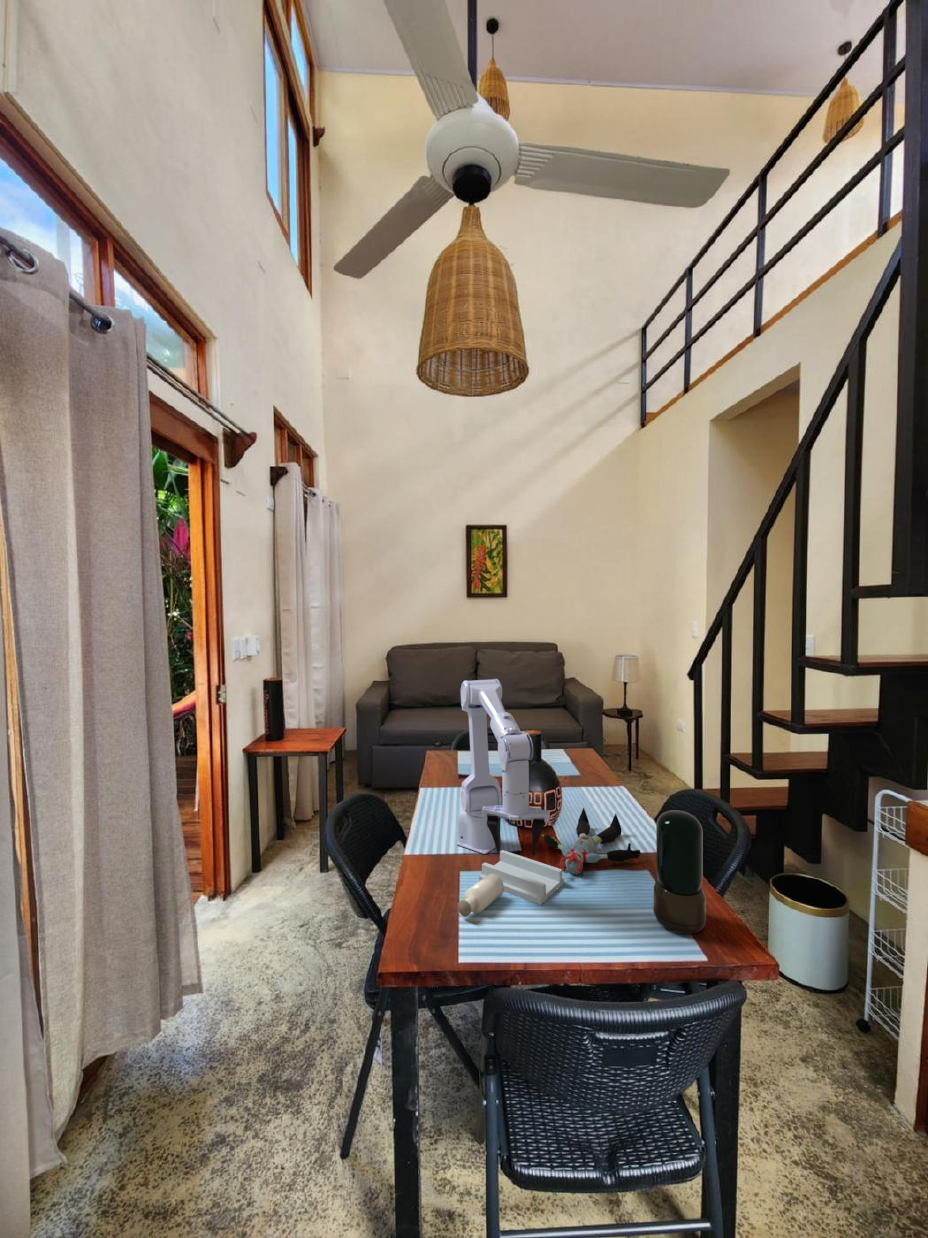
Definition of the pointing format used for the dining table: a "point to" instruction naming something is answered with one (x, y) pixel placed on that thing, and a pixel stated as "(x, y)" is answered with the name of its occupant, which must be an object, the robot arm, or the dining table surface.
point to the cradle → (525, 876)
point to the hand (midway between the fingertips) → (516, 851)
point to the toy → (590, 846)
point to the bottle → (481, 895)
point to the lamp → (679, 873)
